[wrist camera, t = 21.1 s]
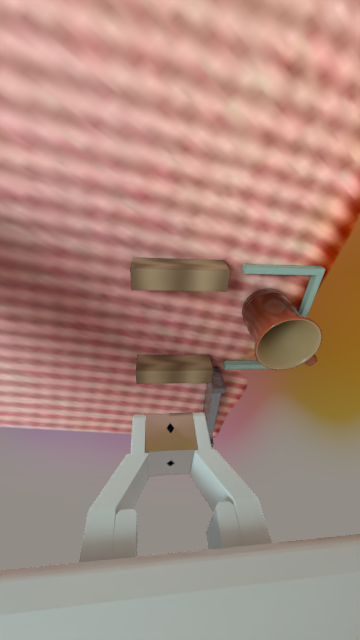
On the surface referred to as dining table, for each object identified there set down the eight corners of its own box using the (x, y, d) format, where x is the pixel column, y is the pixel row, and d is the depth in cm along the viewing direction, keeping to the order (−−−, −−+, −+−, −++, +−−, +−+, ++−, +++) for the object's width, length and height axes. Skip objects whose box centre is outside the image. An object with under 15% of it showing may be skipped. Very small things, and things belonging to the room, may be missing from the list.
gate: (199, 425, 59) (202, 447, 54) (208, 367, 49) (213, 388, 44) (208, 424, 59) (212, 446, 54) (219, 367, 49) (225, 388, 44)
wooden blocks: (138, 367, 48) (136, 383, 44) (132, 257, 36) (130, 268, 33) (207, 366, 49) (211, 382, 45) (224, 260, 37) (230, 271, 34)
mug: (224, 309, 42) (241, 351, 33) (266, 270, 39) (296, 305, 30) (270, 344, 47) (294, 388, 38) (310, 312, 43) (347, 352, 35)
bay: (223, 364, 49) (224, 369, 48) (243, 264, 38) (245, 267, 37) (284, 364, 50) (286, 368, 49) (321, 266, 39) (325, 269, 38)
